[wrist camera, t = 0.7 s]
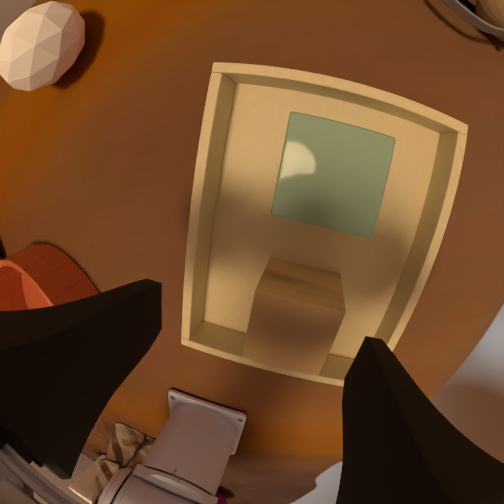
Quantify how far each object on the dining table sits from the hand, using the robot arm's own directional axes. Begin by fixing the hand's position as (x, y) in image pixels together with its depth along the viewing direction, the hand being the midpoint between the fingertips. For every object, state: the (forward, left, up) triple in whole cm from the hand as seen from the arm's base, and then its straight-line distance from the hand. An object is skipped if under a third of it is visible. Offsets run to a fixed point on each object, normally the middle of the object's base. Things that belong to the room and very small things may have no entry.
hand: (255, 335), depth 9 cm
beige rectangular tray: (+1, -1, -9) cm, 9 cm away
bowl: (-14, +22, -9) cm, 27 cm away
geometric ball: (+13, +21, -9) cm, 26 cm away
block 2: (-3, -1, -8) cm, 9 cm away
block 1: (+5, -1, -8) cm, 10 cm away
